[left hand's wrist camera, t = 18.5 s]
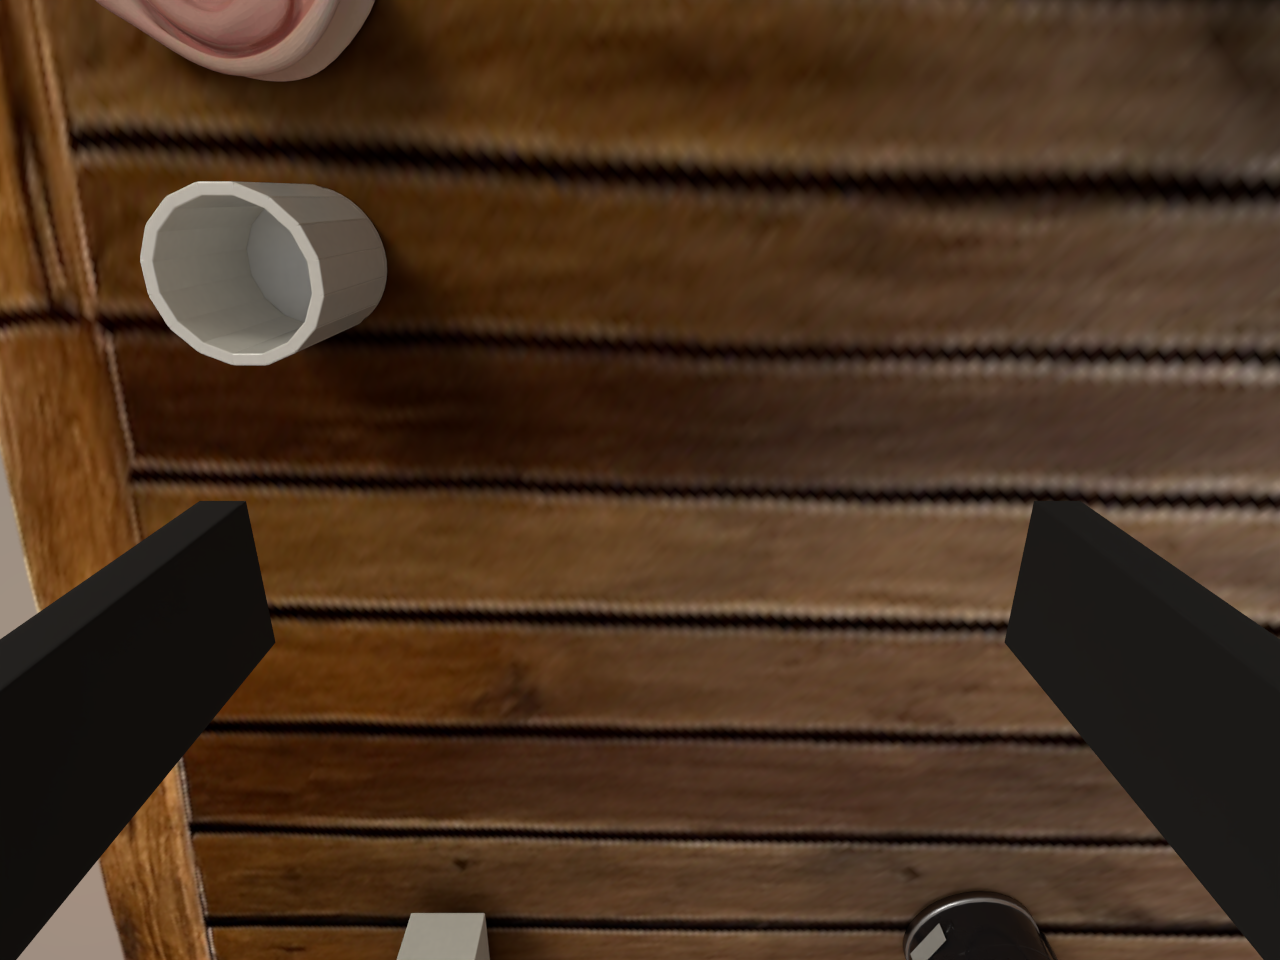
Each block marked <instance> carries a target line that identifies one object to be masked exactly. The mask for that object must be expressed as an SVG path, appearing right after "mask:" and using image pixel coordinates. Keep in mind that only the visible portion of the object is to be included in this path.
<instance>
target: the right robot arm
mask: <svg viewBox="0 0 1280 960" xmlns="http://www.w3.org/2000/svg"><path fill="white" fill-rule="evenodd" d="M903 951H904V954H905V958H906V960H1058V959H1057V957H1056V955H1055V953H1054V951H1053V950H1052V948H1051V946H1050V944H1049V942H1048V940H1047V939H1046V937H1045V935H1044V934H1043V933H1041V932H1039V930H1038V927H1037V925H1036V923H1035V922H1034V920H1033V918H1032V916H1031V914H1030V913H1029V911H1028V910H1027V909H1026V908H1025V907H1024V906H1023V905H1022V904H1021V903H1019V902H1018V901H1016V900H1014V899H1012V898H1010V897H1008V896H1005V895H1002V894H998V893H993V892H966V893H960V894H956V895H952V896H949V897H946V898H943V899H941V900H939V901H937V902H935V903H933V904H931V905H930V906H928V907H927V908H925V909H924V910H923V911H921V912H920V913H919V914H918V915H917V916H916V917H915V918H914V919H913V920H912V922H911V923H910V925H909V926H908V928H907V930H906V932H905V935H904V940H903Z"/></svg>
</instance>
